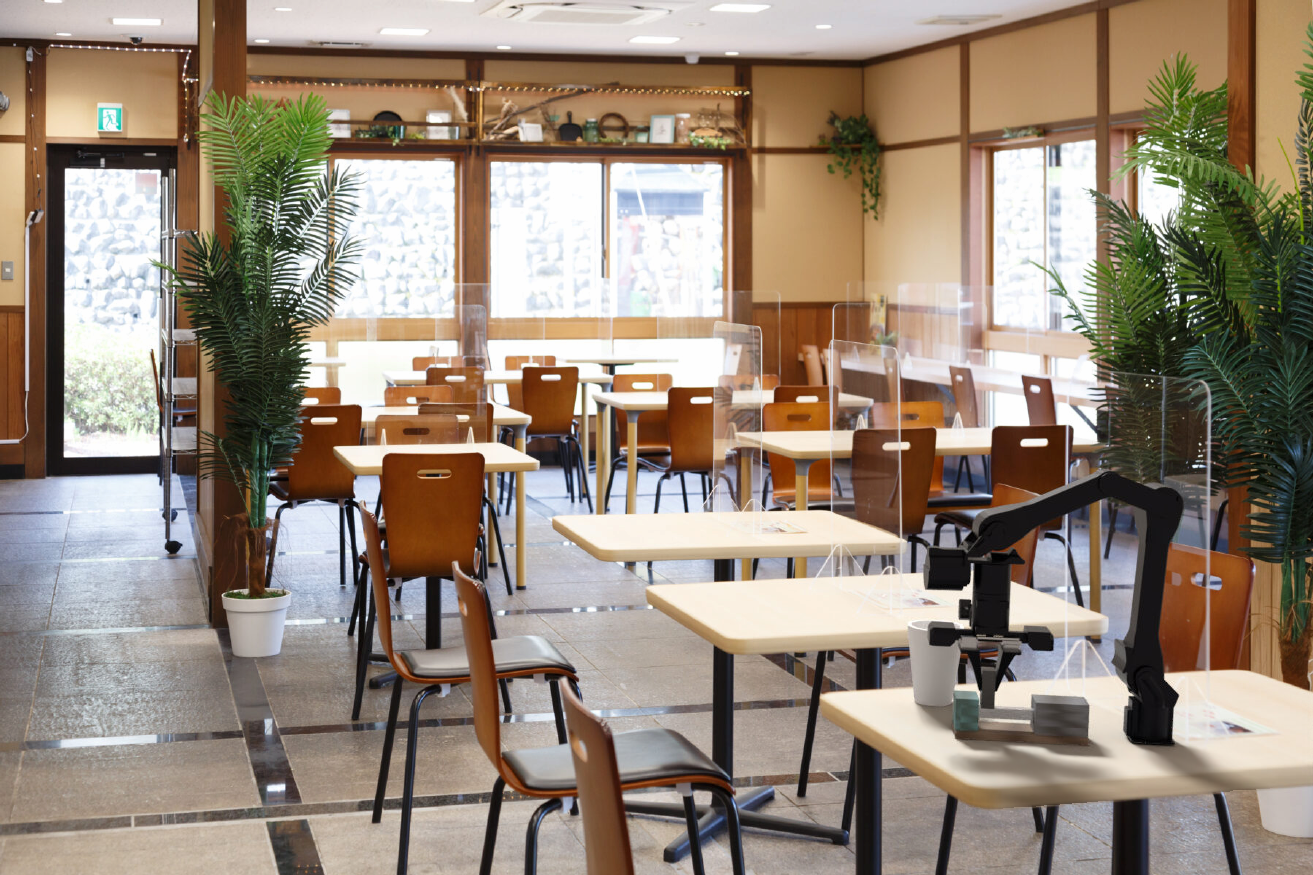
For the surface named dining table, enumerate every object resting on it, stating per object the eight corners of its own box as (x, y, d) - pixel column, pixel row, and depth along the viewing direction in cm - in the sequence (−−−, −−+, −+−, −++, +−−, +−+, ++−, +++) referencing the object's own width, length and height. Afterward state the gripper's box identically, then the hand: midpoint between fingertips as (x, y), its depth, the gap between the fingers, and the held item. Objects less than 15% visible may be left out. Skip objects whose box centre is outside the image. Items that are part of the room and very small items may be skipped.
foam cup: (971, 706, 239) (974, 630, 237) (921, 710, 236) (923, 632, 235) (944, 692, 248) (947, 618, 247) (895, 695, 245) (898, 620, 244)
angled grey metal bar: (1045, 717, 223) (1047, 669, 222) (1047, 721, 221) (1049, 673, 220) (961, 713, 224) (963, 665, 224) (963, 717, 222) (964, 669, 221)
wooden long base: (1081, 732, 225) (1082, 695, 224) (1088, 745, 218) (1090, 707, 217) (951, 725, 227) (953, 688, 227) (955, 738, 220) (956, 700, 220)
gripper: (1045, 584, 228) (1041, 680, 229) (927, 579, 230) (923, 674, 232) (1056, 598, 217) (1052, 698, 218) (931, 592, 219) (927, 692, 221)
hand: (987, 690), depth 223 cm, fingers closed on angled grey metal bar, 2 cm apart
